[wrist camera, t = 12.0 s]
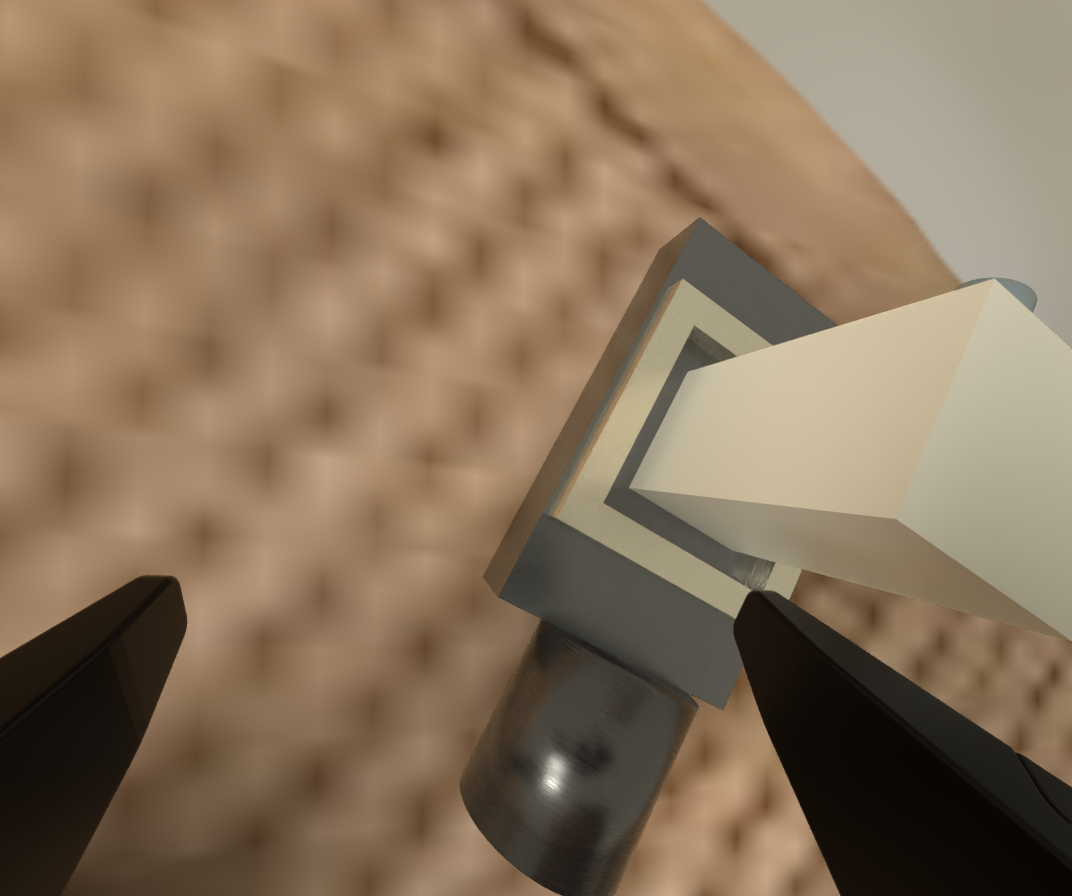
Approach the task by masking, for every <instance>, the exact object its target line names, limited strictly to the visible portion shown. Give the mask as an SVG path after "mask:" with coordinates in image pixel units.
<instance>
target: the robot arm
mask: <svg viewBox="0 0 1072 896" xmlns="http://www.w3.org/2000/svg"><path fill="white" fill-rule="evenodd" d="M186 628H187V614H186V610H185V605H184V600H183V596H182V591H181V587H180V583H179V581H178V579H177V578H176V577H173V576H163V575H145V576H140V577H138V578H136V579H134V580H132V581H131V582H129V583H127V584H126V585H124V586H122V587H120V588H119V589H117V590H115V591H114V592H112V593H110V594H108V595H107V596H105V597H103V598H102V599H100V600H98V601H97V602H95V603H93V604H91V605H90V606H88V607H86V608H85V609H83V610H81V611H79V612H78V613H76V614H74V615H73V616H71V617H69V618H68V619H66V620H64V621H62V622H61V623H59V624H57V625H56V626H54V627H52V628H50V629H49V630H47V631H45V632H44V633H42V634H40V635H39V636H37V637H35V638H33V639H32V640H30V641H28V642H27V643H25V644H23V645H21V646H20V647H18V648H16V649H15V650H13V651H11V652H10V653H8V654H6V655H4V656H3V657H1V658H0V896H61V895H62V893H63V892H64V890H65V888H66V886H67V884H68V882H69V880H70V878H71V876H72V874H73V873H74V871H75V869H76V867H77V865H78V863H79V861H80V859H81V857H82V855H83V854H84V852H85V850H86V848H87V846H88V844H89V842H90V840H91V838H92V836H93V835H94V833H95V831H96V829H97V827H98V825H99V823H100V821H101V819H102V817H103V816H104V814H105V812H106V810H107V808H108V806H109V804H110V802H111V800H112V798H113V796H114V795H115V793H116V791H117V789H118V787H119V785H120V783H121V781H122V779H123V777H124V776H125V774H126V772H127V770H128V768H129V766H130V764H131V762H132V760H133V758H134V756H135V754H136V752H137V750H138V748H139V746H140V744H141V742H142V739H143V737H144V735H145V732H146V730H147V728H148V725H149V723H150V720H151V718H152V715H153V713H154V710H155V708H156V705H157V703H158V700H159V698H160V695H161V693H162V690H163V688H164V685H165V683H166V680H167V678H168V675H169V673H170V670H171V668H172V665H173V663H174V660H175V658H176V655H177V653H178V650H179V648H180V645H181V643H182V640H183V638H184V635H185V632H186ZM733 634H734V638H735V641H736V644H737V647H738V650H739V653H740V656H741V659H742V662H743V665H744V668H745V671H746V674H747V677H748V679H749V682H750V685H751V688H752V691H753V694H754V697H755V700H756V703H757V706H758V709H759V711H760V714H761V717H762V719H763V722H764V725H765V727H766V729H767V732H768V734H769V737H770V739H771V741H772V743H773V746H774V748H775V750H776V752H777V755H778V757H779V759H780V761H781V764H782V766H783V768H784V770H785V773H786V775H787V777H788V779H789V781H790V784H791V786H792V788H793V790H794V793H795V795H796V797H797V799H798V802H799V804H800V806H801V808H802V811H803V813H804V815H805V817H806V820H807V822H808V824H809V826H810V829H811V831H812V833H813V835H814V838H815V840H816V842H817V844H818V846H819V849H820V851H821V853H822V855H823V858H824V860H825V862H826V864H827V867H828V869H829V871H830V873H831V876H832V878H833V880H834V882H835V885H836V887H837V889H838V891H839V894H840V896H1072V787H1070V786H1069V785H1067V784H1066V783H1064V782H1063V781H1061V780H1060V779H1058V778H1057V777H1055V776H1053V775H1052V774H1050V773H1049V772H1047V771H1046V770H1044V769H1043V768H1041V767H1040V766H1038V765H1037V764H1035V763H1034V762H1032V761H1031V760H1029V759H1028V758H1026V757H1025V756H1023V755H1022V754H1020V753H1015V752H1014V750H1013V749H1012V748H1011V747H1010V746H1008V745H1007V744H1005V743H1004V742H1002V741H1001V740H999V739H998V738H996V737H995V736H993V735H992V734H990V733H988V732H987V731H985V730H984V729H982V728H981V727H979V726H978V725H976V724H975V723H973V722H972V721H970V720H969V719H967V718H966V717H964V716H963V715H961V714H960V713H958V712H957V711H955V710H954V709H952V708H951V707H949V706H948V705H946V704H945V703H943V702H942V701H940V700H939V699H937V698H936V697H934V696H933V695H931V694H930V693H928V692H927V691H925V690H924V689H922V688H921V687H919V686H918V685H916V684H915V683H913V682H912V681H910V680H909V679H907V678H905V677H904V676H902V675H901V674H899V673H898V672H896V671H895V670H893V669H892V668H890V667H889V666H887V665H886V664H884V663H883V662H881V661H880V660H878V659H877V658H875V657H874V656H872V655H871V654H869V653H868V652H866V651H865V650H863V649H862V648H860V647H859V646H857V645H856V644H854V643H853V642H851V641H850V640H848V639H847V638H845V637H844V636H842V635H841V634H839V633H838V632H836V631H835V630H833V629H832V628H830V627H829V626H827V625H826V624H824V623H823V622H821V621H820V620H818V619H817V618H815V617H814V616H812V615H810V614H809V613H807V612H806V611H804V610H803V609H801V608H800V607H798V606H797V605H795V604H794V603H792V602H791V601H789V600H788V599H786V598H785V597H783V596H782V595H780V594H779V593H777V592H775V591H772V590H752V591H750V592H749V593H748V594H747V596H746V598H745V600H744V602H743V604H742V606H741V608H740V610H739V613H738V615H737V617H736V619H735V621H734V625H733Z"/></svg>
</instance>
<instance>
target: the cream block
mask: <svg viewBox="0 0 1072 896" xmlns="http://www.w3.org/2000/svg"><path fill="white" fill-rule="evenodd" d="M1036 303H1037V296H1036V294H1035V292H1034V291H1033V290H1032V289H1031V288H1030V287H1029V286H1027V285H1025V284H1023V283H1021V282H1018V281H1015V280H1011V279H1005V278H983V279H976V280H972V281H969V282H966V283H964V284H962V285H960V286H958V287H957V288H955V289H954V290H953V291H952V292H948V293H945V294H942V295H938V296H935V297H932V298H929V299H925V300H922V301H919V302H915V303H912V304H909V305H906V306H902V307H899V308H896V309H892V310H889V311H886V312H883V313H879V314H876V315H873V316H869V317H866V318H863V319H860V320H856V321H853V322H850V323H846V324H843V325H840V326H837V327H833V328H830V329H827V330H823V331H820V332H817V333H814V334H810V335H807V336H804V337H800V338H797V339H794V340H791V341H787V342H784V343H781V344H778V345H774V346H771V347H768V348H764V349H761V350H758V351H755V352H751V353H748V354H745V355H741V356H738V357H735V358H732V359H728V360H725V361H722V362H718V363H715V364H712V365H709V366H705V367H702V368H699V369H695V370H692V371H689V372H687V374H686V376H685V378H684V380H683V382H682V384H681V386H680V388H679V390H678V392H677V394H676V396H675V398H674V400H673V402H672V404H671V406H670V408H669V410H668V412H667V414H666V416H665V418H664V420H663V422H662V423H661V425H660V427H659V429H658V431H657V433H656V435H655V437H654V439H653V441H652V443H651V445H650V447H649V449H648V451H647V453H646V455H645V457H644V459H643V461H642V463H641V465H640V467H639V469H638V471H637V473H636V475H635V476H634V478H633V480H632V482H631V484H630V486H629V488H630V489H632V490H633V491H635V492H637V493H638V494H640V495H642V496H643V497H645V498H646V499H648V500H650V501H651V502H653V503H655V504H656V505H658V506H660V507H661V508H663V509H665V510H666V511H668V512H670V513H671V514H673V515H674V516H676V517H678V518H679V519H681V520H683V521H684V522H686V523H688V524H689V525H691V526H693V527H694V528H696V529H698V530H699V531H701V532H702V533H704V534H706V535H707V536H709V537H711V538H712V539H714V540H716V541H717V542H719V543H721V544H722V545H724V546H725V547H727V548H729V549H730V550H732V551H736V552H740V553H744V554H747V555H751V556H755V557H758V558H762V559H766V560H770V561H773V562H777V563H781V564H785V565H788V566H792V567H796V568H799V569H803V570H807V571H811V572H814V573H818V574H822V575H826V576H829V577H833V578H837V579H841V580H844V581H848V582H852V583H855V584H859V585H863V586H867V587H870V588H874V589H878V590H882V591H885V592H889V593H893V594H897V595H900V596H904V597H908V598H911V599H915V600H919V601H923V602H926V603H930V604H934V605H938V606H941V607H945V608H949V609H953V610H956V611H960V612H964V613H967V614H971V615H975V616H979V617H982V618H986V619H990V620H994V621H997V622H1001V623H1005V624H1009V625H1012V626H1016V627H1020V628H1023V629H1027V630H1031V631H1035V632H1038V633H1042V634H1046V635H1050V636H1053V637H1057V638H1061V639H1065V640H1068V641H1072V349H1071V348H1070V347H1069V346H1068V345H1067V344H1066V343H1064V342H1063V341H1062V340H1061V339H1060V338H1059V337H1058V336H1057V335H1056V334H1055V333H1054V332H1052V331H1051V330H1050V329H1049V328H1048V327H1047V326H1046V325H1045V324H1044V323H1043V322H1042V321H1041V320H1039V319H1038V318H1037V317H1036V316H1035V315H1034V314H1033V310H1034V308H1035V305H1036Z"/></svg>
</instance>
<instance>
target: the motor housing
mask: <svg viewBox="0 0 1072 896" xmlns="http://www.w3.org/2000/svg"><path fill="white" fill-rule="evenodd" d="M833 327H837V325H836V324H835V323H834V322H832V321H831V320H830V319H828V318H827V317H826V316H825V315H823V314H822V313H821V312H820V311H818V310H817V309H816V308H815V307H813V306H812V305H811V304H809V303H808V302H807V301H806V300H804V299H803V298H802V297H801V296H799V295H798V294H797V293H795V292H794V291H793V290H792V289H790V288H789V287H788V286H787V285H785V284H784V283H783V282H782V281H780V280H779V279H778V278H776V277H775V276H774V275H773V274H771V273H770V272H769V271H768V270H766V269H765V268H764V267H763V266H761V265H760V264H759V263H757V262H756V261H755V260H754V259H752V258H751V257H750V256H749V255H747V254H746V253H745V252H743V251H742V250H741V249H740V248H738V247H737V246H736V245H735V244H733V243H732V242H731V241H730V240H728V239H727V238H726V237H724V236H723V235H722V234H721V233H719V232H718V231H717V230H716V229H714V228H713V227H712V226H710V225H709V224H708V223H707V222H705V221H704V220H703V219H702V218H700V217H699V218H698V219H697V220H696V221H694V222H693V223H692V224H691V225H689V226H688V227H687V228H686V229H684V230H683V231H682V232H681V233H679V234H678V235H677V236H676V237H674V238H673V239H672V240H671V241H669V242H668V243H667V244H666V245H664V246H663V247H662V248H661V249H660V250H659V252H658V254H657V256H656V257H655V259H654V261H653V263H652V265H651V267H650V268H649V270H648V272H647V274H646V276H645V278H644V280H643V281H642V283H641V285H640V287H639V289H638V291H637V292H636V294H635V296H634V298H633V300H632V302H631V304H630V305H629V307H628V309H627V311H626V313H625V315H624V317H623V318H622V320H621V322H620V324H619V326H618V328H617V329H616V331H615V333H614V335H613V337H612V339H611V341H610V342H609V344H608V346H607V348H606V350H605V352H604V354H603V355H602V357H601V359H600V361H599V363H598V365H597V366H596V368H595V370H594V372H593V374H592V376H591V378H590V379H589V381H588V383H587V385H586V387H585V389H584V391H583V392H582V394H581V396H580V398H579V400H578V402H577V403H576V405H575V407H574V409H573V411H572V413H571V415H570V416H569V418H568V420H567V422H566V424H565V426H564V428H563V429H562V431H561V433H560V435H559V437H558V439H557V440H556V442H555V444H554V446H553V448H552V450H551V452H550V453H549V455H548V457H547V459H546V461H545V463H544V465H543V466H542V468H541V470H540V472H539V474H538V476H537V477H536V479H535V481H534V483H533V485H532V487H531V489H530V490H529V492H528V494H527V496H526V498H525V500H524V502H523V503H522V505H521V507H520V509H519V511H518V513H517V514H516V516H515V518H514V520H513V522H512V524H511V526H510V527H509V529H508V531H507V533H506V535H505V537H504V538H503V540H502V542H501V544H500V546H499V548H498V550H497V551H496V553H495V555H494V557H493V559H492V561H491V563H490V564H489V566H488V568H487V570H486V572H485V574H484V575H483V578H484V579H485V580H486V582H487V583H488V584H489V586H490V587H491V588H492V590H493V591H494V592H495V594H496V595H497V596H498V597H499V598H501V599H503V600H505V601H507V602H509V603H511V604H513V605H515V606H517V607H519V608H521V609H523V610H525V611H527V612H529V613H531V614H533V615H535V616H537V617H539V618H541V621H540V623H539V625H538V627H537V629H536V631H535V633H534V635H533V637H532V638H531V640H530V642H529V644H528V646H527V648H526V650H525V652H524V654H523V656H522V658H521V660H520V662H519V664H518V666H517V668H516V670H515V672H514V674H513V676H512V677H511V679H510V681H509V683H508V685H507V687H506V689H505V691H504V693H503V695H502V697H501V699H500V701H499V703H498V705H497V707H496V709H495V711H494V713H493V715H492V716H491V718H490V720H489V722H488V724H487V726H486V728H485V730H484V732H483V734H482V736H481V738H480V740H479V742H478V744H477V746H476V748H475V750H474V752H473V754H472V755H471V757H470V759H469V761H468V763H467V765H466V767H465V769H464V771H463V773H462V776H461V779H460V790H461V795H462V798H463V802H464V804H465V806H466V809H467V811H468V813H469V814H470V816H471V818H472V820H473V821H474V823H475V824H476V826H477V827H478V829H479V830H480V831H481V833H482V834H483V835H484V836H485V838H486V839H487V840H488V841H489V842H490V843H491V845H492V846H493V847H494V848H495V849H496V850H497V851H498V852H499V853H500V854H501V855H502V856H503V857H504V858H505V859H506V860H507V861H509V862H510V863H511V864H512V865H513V866H515V867H516V868H517V869H518V870H520V871H521V872H522V873H524V874H525V875H526V876H528V877H529V878H531V879H532V880H534V881H535V882H537V883H538V884H540V885H542V886H543V887H545V888H547V889H549V890H551V891H553V892H555V893H557V894H559V895H562V896H613V895H614V894H615V893H616V891H617V889H618V887H619V884H620V882H621V880H622V878H623V875H624V873H625V871H626V869H627V866H628V864H629V862H630V860H631V857H632V855H633V853H634V851H635V848H636V846H637V844H638V842H639V839H640V837H641V835H642V833H643V830H644V828H645V826H646V824H647V822H648V819H649V817H650V815H651V813H652V810H653V808H654V806H655V804H656V801H657V799H658V797H659V795H660V792H661V790H662V788H663V786H664V783H665V781H666V779H667V777H668V774H669V772H670V770H671V768H672V765H673V763H674V761H675V759H676V756H677V754H678V752H679V750H680V748H681V745H682V743H683V741H684V739H685V736H686V734H687V732H688V730H689V727H690V725H691V723H692V721H693V718H694V716H695V714H696V712H697V709H698V705H697V703H696V702H695V701H694V700H693V699H692V698H691V697H690V696H689V695H688V694H687V693H689V694H691V695H693V696H695V697H697V698H699V699H701V700H703V701H705V702H707V703H709V704H711V705H713V706H715V707H717V708H719V709H721V710H723V709H724V707H725V705H726V703H727V700H728V698H729V696H730V693H731V691H732V689H733V687H734V684H735V682H736V680H737V677H738V675H739V673H740V671H741V668H742V666H743V662H742V659H741V656H740V653H739V650H738V647H737V644H736V641H735V638H734V634H733V625H734V621H735V619H736V617H737V615H738V613H739V610H740V608H741V606H742V604H743V602H744V600H745V598H746V596H747V594H748V593H749V592H750V591H752V590H772V591H775V592H777V593H779V594H780V595H782V596H783V597H785V598H786V599H788V600H789V599H790V597H791V594H792V592H793V590H794V587H795V585H796V583H797V580H798V578H799V576H800V573H801V571H802V569H799V568H796V567H792V566H788V565H785V564H781V563H777V562H773V561H770V560H766V559H762V558H758V557H755V556H751V555H747V554H744V553H740V552H736V551H732V550H730V549H729V548H727V547H725V546H724V545H722V544H721V543H719V542H717V541H716V540H714V539H712V538H711V537H709V536H707V535H706V534H704V533H702V532H701V531H699V530H698V529H696V528H694V527H693V526H691V525H689V524H688V523H686V522H684V521H683V520H681V519H679V518H678V517H676V516H674V515H673V514H671V513H670V512H668V511H666V510H665V509H663V508H661V507H660V506H658V505H656V504H655V503H653V502H651V501H650V500H648V499H646V498H645V497H643V496H642V495H640V494H638V493H637V492H635V491H633V490H632V489H630V488H629V486H630V484H631V482H632V480H633V478H634V476H635V475H636V473H637V471H638V469H639V467H640V465H641V463H642V461H643V459H644V457H645V455H646V453H647V451H648V449H649V447H650V445H651V443H652V441H653V439H654V437H655V435H656V433H657V431H658V429H659V427H660V425H661V423H662V422H663V420H664V418H665V416H666V414H667V412H668V410H669V408H670V406H671V404H672V402H673V400H674V398H675V396H676V394H677V392H678V390H679V388H680V386H681V384H682V382H683V380H684V378H685V376H686V374H687V372H689V371H692V370H695V369H699V368H702V367H705V366H709V365H712V364H715V363H718V362H722V361H725V360H728V359H732V358H735V357H738V356H741V355H745V354H748V353H751V352H755V351H758V350H761V349H764V348H768V347H771V346H774V345H778V344H781V343H784V342H787V341H791V340H794V339H797V338H800V337H804V336H807V335H810V334H814V333H817V332H820V331H823V330H827V329H830V328H833ZM684 691H685V692H687V693H685V692H684Z"/></svg>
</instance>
